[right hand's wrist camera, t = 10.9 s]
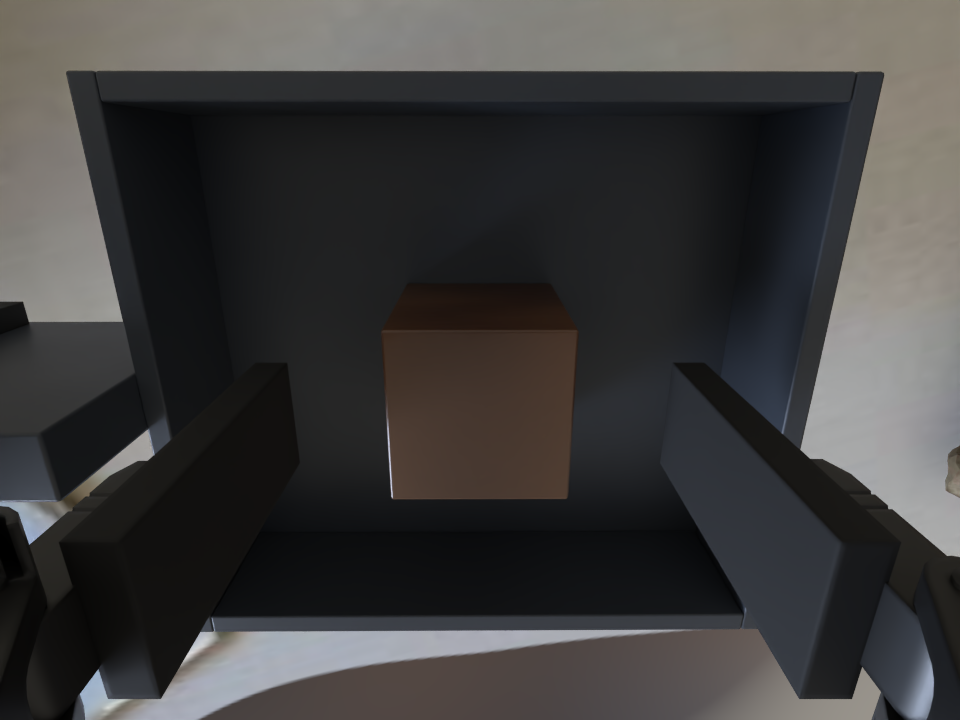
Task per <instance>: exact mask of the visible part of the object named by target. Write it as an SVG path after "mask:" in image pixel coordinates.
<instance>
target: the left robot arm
mask: <svg viewBox="0 0 960 720" xmlns="http://www.w3.org/2000/svg"><path fill="white" fill-rule="evenodd" d="M27 324H29V321H28V318H27V314H26V311H25V307H24V304H23V302H0V334H3V333H5V332H8V331H11V330H14V329H16V328H19V327H22V326H24V325H27Z"/></svg>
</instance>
